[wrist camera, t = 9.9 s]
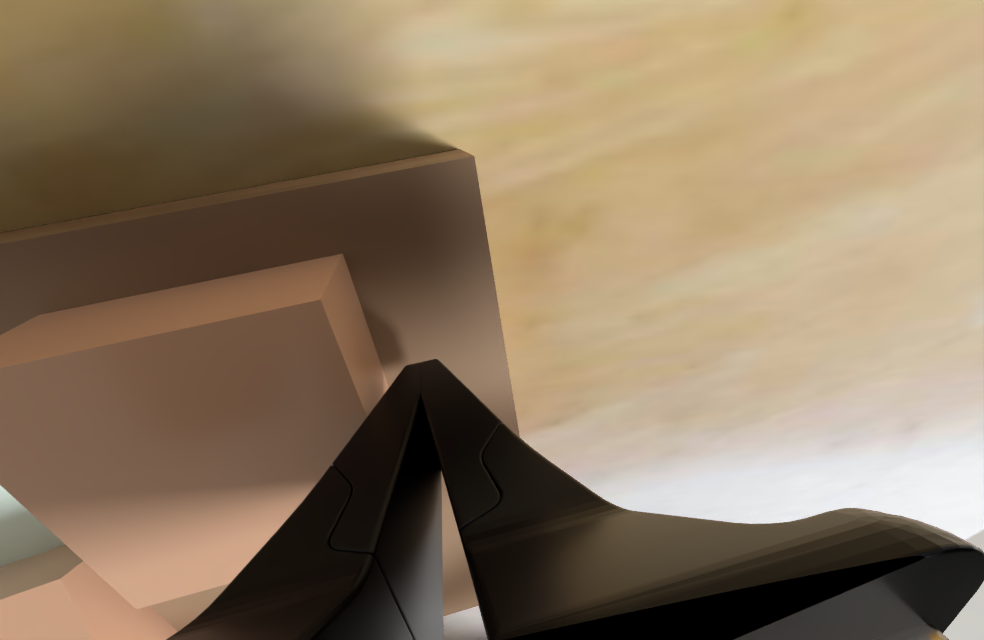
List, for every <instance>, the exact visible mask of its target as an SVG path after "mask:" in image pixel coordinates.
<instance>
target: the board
mask: <svg viewBox="0 0 984 640" xmlns="http://www.w3.org/2000/svg"><path fill="white" fill-rule="evenodd" d="M338 254H343V255H344V258H345V261H346V264H347V267H348V270H349V273H350V276H351V279H352V282H353V284H354V287H355V290H356V293H357V296H358V299H359V302H360V305H361V308H362V311H363V313H364V316H365V319H366V322H367V325H368V328H369V331H370V334H371V337H372V340H373V342H374V345H375V348H376V351H377V354H378V357H379V360H380V363H381V366H382V369H383V371H384V374H385V377H386V380H387V383H388V386H389V387H390V386H391V384H392V383H393V382H394V380H395V379H396V378H397V376H398V375H399V374H400V372H401V371H402V370H403V368H404V367H405V366H406V365H409V364H414V363H418V362H423V361H427V360H432V359H438V360H439V361H441V362H442V363H443V364H444V365H445V366H446V367H447V368H448V369H449V370H450V371H451V372H452V373H453V374H454V375H455V376H456V377H457V378H458V379H459V380H460V381H461V382H462V383H463V384H464V385H465V386H466V387H467V388H468V389H469V390H470V391H472V392H473V393H474V394H475V395H476V396H477V397H478V398H479V399H480V400H481V401H482V402H483V403H484V404H485V405H486V406H487V407H488V408H489V409H490V410H491V411H492V412H493V413H494V414H495V415H496V416H497V417H498V418H499V419H500V420H502V421H503V423H504V424H506V425H507V426H508V427H509V428H510V429H511V430H512V431H513V432H514V433H515V434H516V435H517V436H519V431H518V424H517V418H516V412H515V406H514V400H513V393H512V387H511V381H510V375H509V369H508V362H507V356H506V350H505V344H504V338H503V332H502V325H501V319H500V313H499V307H498V301H497V294H496V288H495V282H494V276H493V270H492V263H491V257H490V251H489V245H488V239H487V232H486V226H485V220H484V214H483V208H482V202H481V195H480V189H479V183H478V177H477V171H476V164H475V158H474V156H473V155H471V154H468V153H466V152H464V151H462V150H460V149H458V150H452V151H447V152H441V153H436V154H431V155H425V156H420V157H414V158H409V159H403V160H398V161H392V162H387V163H381V164H376V165H370V166H365V167H359V168H354V169H348V170H343V171H337V172H332V173H327V174H321V175H316V176H310V177H305V178H299V179H294V180H288V181H283V182H277V183H272V184H266V185H261V186H255V187H250V188H244V189H239V190H234V191H228V192H223V193H217V194H212V195H206V196H201V197H195V198H190V199H184V200H179V201H173V202H168V203H162V204H157V205H151V206H146V207H140V208H135V209H130V210H124V211H119V212H113V213H108V214H102V215H97V216H91V217H86V218H80V219H75V220H69V221H64V222H58V223H53V224H47V225H42V226H36V227H31V228H26V229H20V230H15V231H9V232H4V233H0V335H2V334H4V333H5V332H7V331H9V330H11V329H13V328H15V327H17V326H19V325H21V324H23V323H25V322H26V321H28V320H30V319H32V318H34V317H36V316H38V315H41V314H46V313H51V312H56V311H61V310H66V309H71V308H76V307H81V306H86V305H91V304H96V303H101V302H106V301H110V300H115V299H120V298H125V297H130V296H135V295H140V294H145V293H150V292H155V291H160V290H165V289H170V288H175V287H180V286H185V285H190V284H195V283H200V282H204V281H209V280H214V279H219V278H224V277H229V276H234V275H239V274H244V273H249V272H254V271H259V270H264V269H269V268H274V267H279V266H284V265H289V264H294V263H298V262H303V261H308V260H313V259H318V258H323V257H328V256H333V255H338ZM441 479H442V560H443V616H446V615H449V614H452V613H456V612H459V611H462V610H465V609H469V608H472V607H475V606H479V605H478V601H477V597H476V593H475V590H474V586H473V582H472V579H471V575H470V571H469V567H468V564H467V560H466V556H465V553H464V549H463V546H462V542H461V538H460V535H459V531H458V528H457V524H456V521H455V517H454V514H453V510H452V506H451V503H450V499H449V496H448V492H447V489H446V485H445V482H444V478H443V474H442V471H441ZM229 584H230V583H229ZM229 584H226V585H222V586H219V587H215V588H211V589H208V590H204V591H201V592H197V593H193V594H190V595H186V596H183V597H179V598H176V599H172V600H168V601H165V602H161V603H158V604H154V605H150V606H151V607H152V608H153V609H154V610H156V611H157V612H158V613H159V614H160V615H161V616H162V617H163V618H164V619H165V620H166V621H167V622H168V623H169V624H170V625H171V626H172V627H174V628H175V629H176V630H177V631H179V630H181V629H182V628H184V627H185V626H186V625H188V624H189V623H190V622H191V621H193V620H194V619H195V618H196V617H198V616H199V615H200V614H201V613H202V612H203V611H204V610H205V609H206V608H207V607H208V606H209V605H210V604H211V603H212V602H213V601H214V600H215V599H216V598H217V597H218V596H219V595H220V594H221V593H222V592H223V591H224V589H225V588H226V587H227V586H228V585H229Z"/></svg>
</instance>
